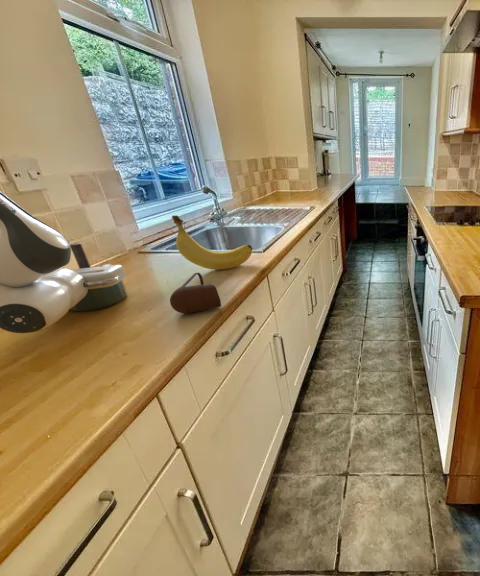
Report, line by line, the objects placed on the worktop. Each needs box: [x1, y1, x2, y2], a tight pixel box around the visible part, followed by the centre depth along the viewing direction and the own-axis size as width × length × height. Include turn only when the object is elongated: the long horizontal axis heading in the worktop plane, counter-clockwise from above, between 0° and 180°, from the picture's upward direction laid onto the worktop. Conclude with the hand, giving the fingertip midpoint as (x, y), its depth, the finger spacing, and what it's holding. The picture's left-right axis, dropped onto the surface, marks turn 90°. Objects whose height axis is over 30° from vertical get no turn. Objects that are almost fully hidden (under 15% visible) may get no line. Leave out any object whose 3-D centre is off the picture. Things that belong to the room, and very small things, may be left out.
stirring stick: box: [70, 242, 92, 269], centre depth 86 cm, size 2×2×16 cm
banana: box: [171, 215, 253, 270], centre depth 109 cm, size 23×6×20 cm, turn 122°
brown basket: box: [169, 272, 222, 314], centre depth 87 cm, size 18×12×7 cm, turn 23°
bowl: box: [69, 279, 128, 312], centre depth 88 cm, size 13×13×7 cm
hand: (87, 268), depth 86 cm, fingers open, 8 cm apart
